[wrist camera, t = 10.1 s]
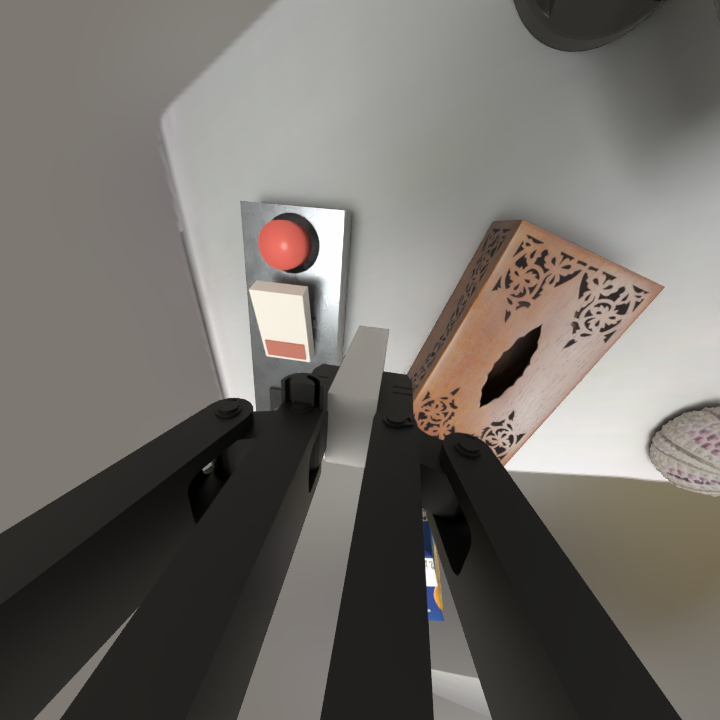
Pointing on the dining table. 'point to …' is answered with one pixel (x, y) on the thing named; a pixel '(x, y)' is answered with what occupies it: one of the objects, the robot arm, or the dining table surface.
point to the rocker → (284, 319)
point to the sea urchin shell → (690, 451)
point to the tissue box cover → (520, 335)
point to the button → (284, 244)
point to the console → (318, 273)
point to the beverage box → (432, 574)
